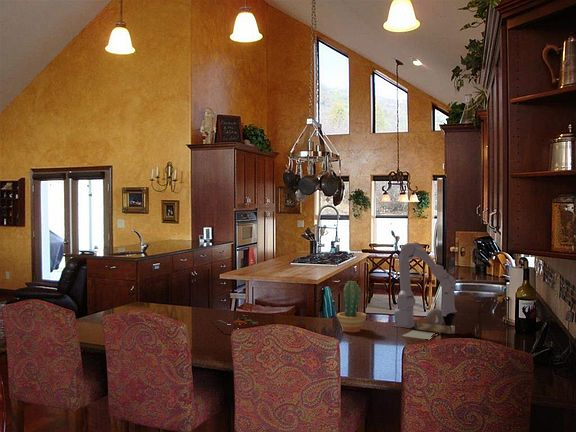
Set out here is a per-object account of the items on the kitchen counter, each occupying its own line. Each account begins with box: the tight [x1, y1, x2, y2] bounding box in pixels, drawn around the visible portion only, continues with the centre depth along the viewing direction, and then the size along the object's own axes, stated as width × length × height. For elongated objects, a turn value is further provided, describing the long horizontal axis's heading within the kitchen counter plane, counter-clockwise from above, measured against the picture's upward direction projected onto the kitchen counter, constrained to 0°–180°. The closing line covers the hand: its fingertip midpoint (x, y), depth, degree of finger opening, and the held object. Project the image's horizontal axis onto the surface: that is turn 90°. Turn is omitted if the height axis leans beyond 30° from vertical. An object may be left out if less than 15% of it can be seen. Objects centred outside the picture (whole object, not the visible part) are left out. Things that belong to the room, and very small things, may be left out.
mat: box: [401, 329, 436, 341], centre depth 260 cm, size 14×14×1 cm
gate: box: [414, 321, 451, 334], centre depth 266 cm, size 18×1×3 cm, turn 54°
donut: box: [426, 308, 445, 325], centre depth 275 cm, size 10×4×10 cm, turn 110°
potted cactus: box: [336, 280, 367, 333], centre depth 273 cm, size 15×15×25 cm
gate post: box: [450, 324, 456, 335], centre depth 260 cm, size 2×2×4 cm
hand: (448, 328), depth 265 cm, fingers closed
